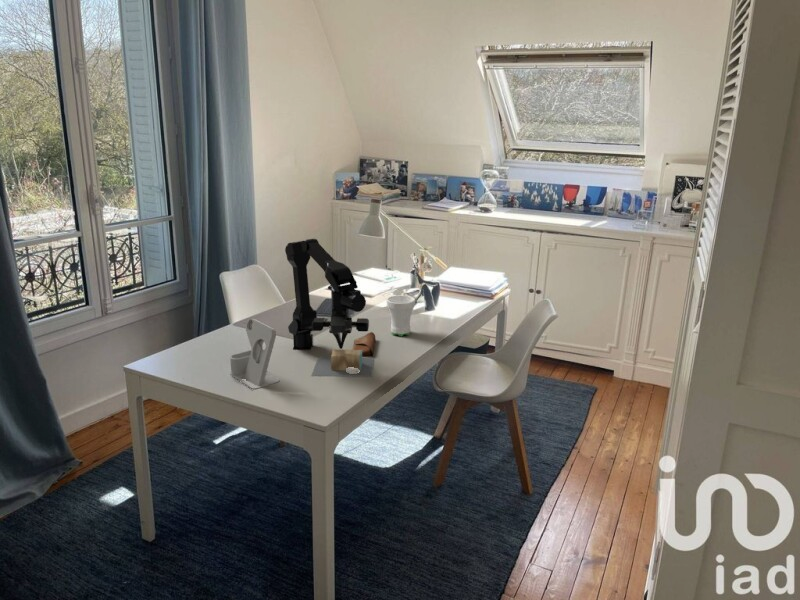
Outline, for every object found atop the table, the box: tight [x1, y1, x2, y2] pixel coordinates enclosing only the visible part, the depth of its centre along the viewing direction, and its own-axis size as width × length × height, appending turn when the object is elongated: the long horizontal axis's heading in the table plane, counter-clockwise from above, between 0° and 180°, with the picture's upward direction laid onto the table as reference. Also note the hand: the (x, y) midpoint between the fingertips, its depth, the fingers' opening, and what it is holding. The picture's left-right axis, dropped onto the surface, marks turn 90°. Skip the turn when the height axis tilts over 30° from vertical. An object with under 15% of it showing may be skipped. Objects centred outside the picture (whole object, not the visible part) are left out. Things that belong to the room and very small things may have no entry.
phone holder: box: [229, 318, 280, 391], centre depth 195 cm, size 17×10×18 cm, turn 41°
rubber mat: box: [311, 356, 375, 378], centre depth 206 cm, size 20×16×1 cm
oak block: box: [330, 349, 363, 370], centre depth 206 cm, size 5×6×10 cm
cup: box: [385, 294, 416, 337], centre depth 237 cm, size 11×11×14 cm
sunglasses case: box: [352, 331, 376, 358], centre depth 223 cm, size 18×7×7 cm, turn 0°
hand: (341, 348), depth 204 cm, fingers closed
